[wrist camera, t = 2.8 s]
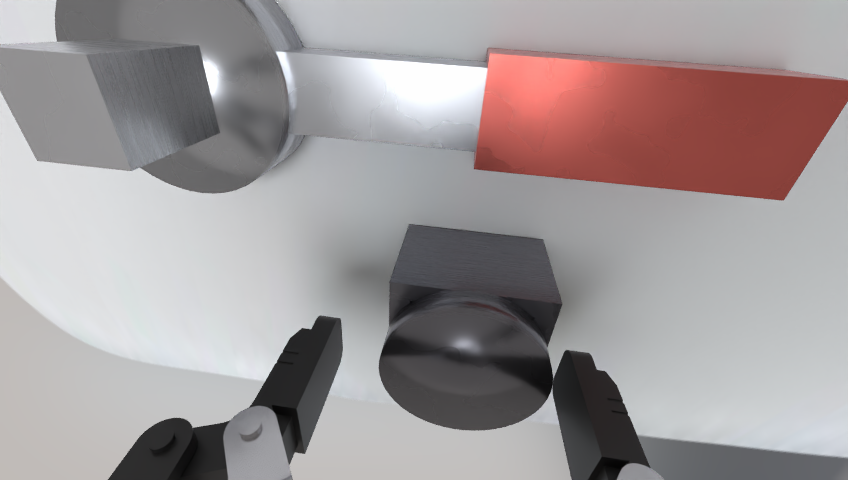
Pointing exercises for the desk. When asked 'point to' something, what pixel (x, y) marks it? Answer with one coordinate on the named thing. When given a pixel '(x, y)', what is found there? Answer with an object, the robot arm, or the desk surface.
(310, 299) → the desk surface
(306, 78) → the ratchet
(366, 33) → the desk surface
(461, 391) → the block with domed cap
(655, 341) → the desk surface
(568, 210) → the desk surface
